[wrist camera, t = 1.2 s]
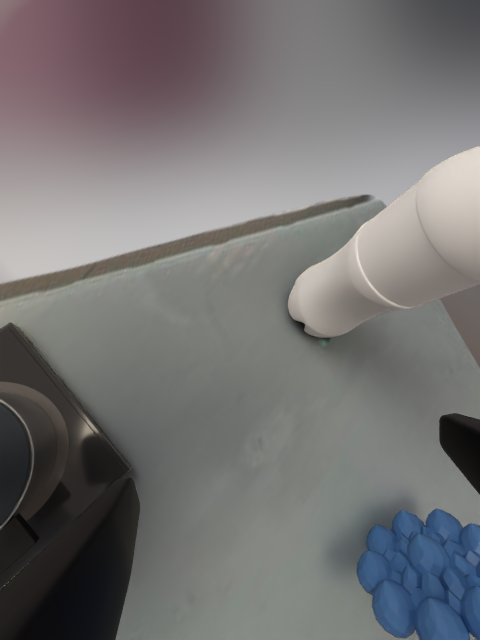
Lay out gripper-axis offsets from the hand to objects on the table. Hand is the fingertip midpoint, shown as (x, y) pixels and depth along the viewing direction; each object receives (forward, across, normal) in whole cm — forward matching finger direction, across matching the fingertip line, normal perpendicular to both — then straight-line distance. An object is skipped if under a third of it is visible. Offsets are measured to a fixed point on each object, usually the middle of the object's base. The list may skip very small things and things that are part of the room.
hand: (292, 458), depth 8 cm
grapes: (+14, -9, +22) cm, 27 cm away
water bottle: (+23, -8, +1) cm, 25 cm away
